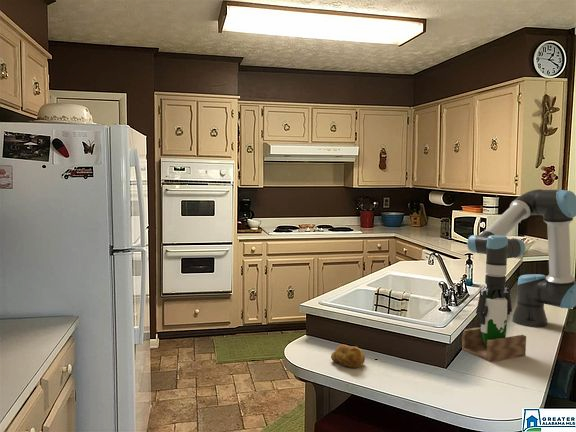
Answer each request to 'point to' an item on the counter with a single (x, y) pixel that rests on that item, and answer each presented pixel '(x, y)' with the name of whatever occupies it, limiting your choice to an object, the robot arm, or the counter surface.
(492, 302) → the soya milk
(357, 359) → the bread roll
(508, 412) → the counter surface
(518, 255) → the robot arm
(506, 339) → the u rest
